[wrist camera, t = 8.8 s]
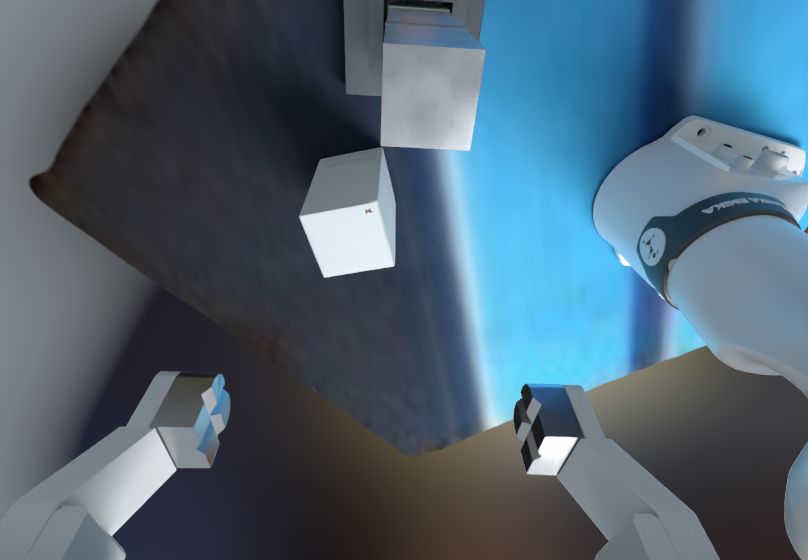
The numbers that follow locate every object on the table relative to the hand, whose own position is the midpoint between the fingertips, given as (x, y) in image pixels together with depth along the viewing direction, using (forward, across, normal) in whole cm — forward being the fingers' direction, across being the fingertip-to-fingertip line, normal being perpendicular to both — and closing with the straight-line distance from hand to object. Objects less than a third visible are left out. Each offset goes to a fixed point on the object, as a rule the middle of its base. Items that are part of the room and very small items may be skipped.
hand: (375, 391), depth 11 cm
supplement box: (+38, +3, +11) cm, 39 cm away
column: (+29, -2, -5) cm, 29 cm away
